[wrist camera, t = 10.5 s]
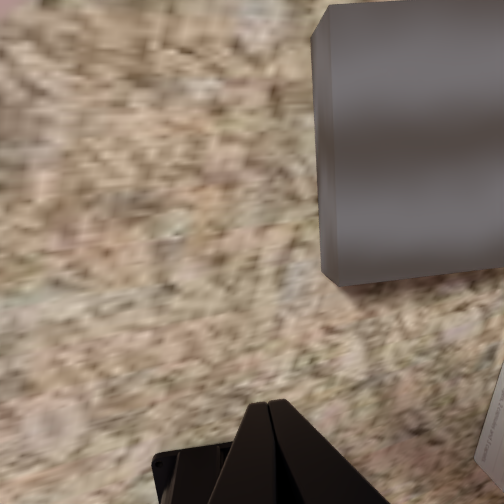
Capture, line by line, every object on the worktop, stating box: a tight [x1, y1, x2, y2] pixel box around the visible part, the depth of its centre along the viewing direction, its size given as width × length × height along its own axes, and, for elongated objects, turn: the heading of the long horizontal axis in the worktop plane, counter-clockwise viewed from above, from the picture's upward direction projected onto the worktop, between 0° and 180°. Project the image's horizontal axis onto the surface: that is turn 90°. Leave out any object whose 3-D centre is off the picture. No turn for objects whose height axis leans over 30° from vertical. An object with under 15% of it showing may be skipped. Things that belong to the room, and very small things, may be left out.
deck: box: [311, 0, 504, 287], centre depth 17 cm, size 13×12×3 cm
